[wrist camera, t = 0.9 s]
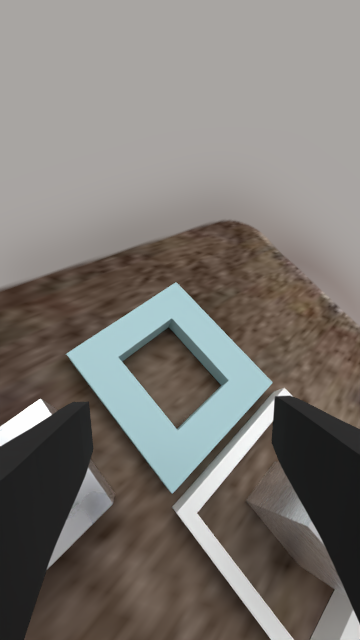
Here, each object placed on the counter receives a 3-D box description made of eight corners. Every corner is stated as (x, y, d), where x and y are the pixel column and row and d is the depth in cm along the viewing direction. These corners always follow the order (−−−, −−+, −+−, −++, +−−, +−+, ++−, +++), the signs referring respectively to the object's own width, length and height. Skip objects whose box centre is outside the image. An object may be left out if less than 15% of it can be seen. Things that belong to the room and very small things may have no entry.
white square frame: (306, 687, 17) (327, 715, 15) (172, 507, 19) (176, 512, 18) (387, 512, 22) (410, 517, 20) (273, 392, 25) (284, 387, 23)
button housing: (5, 602, 16) (-30, 646, 12) (-56, 488, 18) (-102, 498, 14) (115, 494, 19) (112, 503, 16) (54, 407, 21) (40, 398, 17)
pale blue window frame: (168, 489, 20) (172, 493, 18) (71, 361, 23) (66, 353, 21) (262, 387, 25) (272, 382, 23) (173, 292, 28) (176, 282, 26)
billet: (298, 565, 19) (398, 630, 12) (245, 500, 21) (307, 526, 13) (325, 518, 21) (426, 552, 14) (274, 461, 22) (343, 466, 15)
